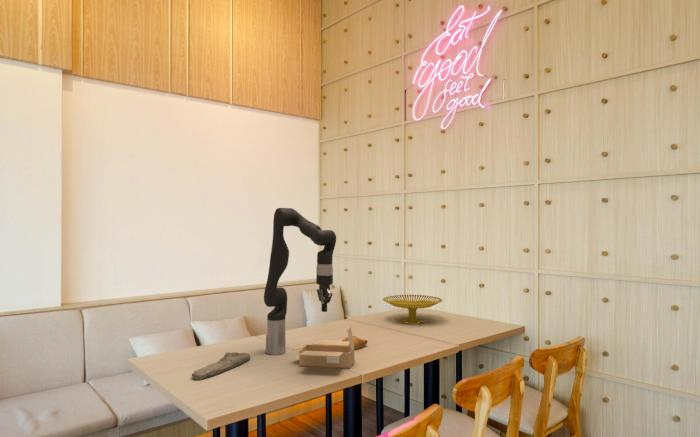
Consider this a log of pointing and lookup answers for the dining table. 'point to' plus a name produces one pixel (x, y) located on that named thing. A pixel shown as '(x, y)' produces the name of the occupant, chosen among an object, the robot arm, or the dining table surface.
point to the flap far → (350, 338)
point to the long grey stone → (221, 365)
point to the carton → (327, 362)
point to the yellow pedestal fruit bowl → (412, 305)
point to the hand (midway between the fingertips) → (324, 311)
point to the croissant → (357, 342)
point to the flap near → (321, 353)
